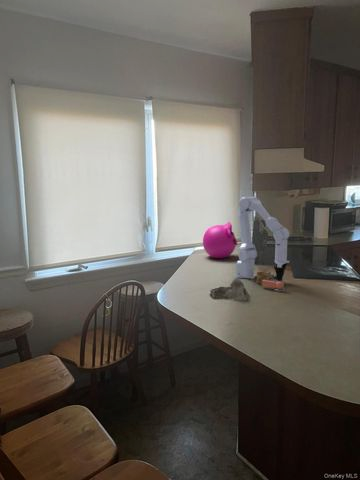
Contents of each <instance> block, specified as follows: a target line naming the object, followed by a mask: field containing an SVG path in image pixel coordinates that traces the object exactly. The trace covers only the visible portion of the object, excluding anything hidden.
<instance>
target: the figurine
mask: <svg viewBox="0 0 360 480" xmlns="http://www.w3.org/2000/svg"><path fill="white" fill-rule="evenodd" d="M202 245H203V249H204V251H205V253H206V254H207V255H208V256H209V257H212V258H215V259H224V258H227V257H230V255H232V254H233V252H234V251H235V250H236V246H238V240H237V238H236V236H235V233H234V232H233V226H232V222H230V221H227V223H225V224H216V225H213V226H210V227H209V228H207V229H206V231H205V232H204V233H203V238H202Z"/></svg>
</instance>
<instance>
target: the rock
mask: <svg viewBox="0 0 360 480" xmlns="http://www.w3.org/2000/svg"><path fill="white" fill-rule="evenodd" d="M209 297H211V298H212V299H214V300H219V299H220V300H231V299H234V300H233V301H246V300H247V299H248V298H250V294H249V292H248V291H247V289H246V288H245V285H244V283H243V281H242V280H241V279H240V278H239V277H236V278H233V280H232V281H231V283H230V286H219V287H214V288H211V289H210V293H209Z"/></svg>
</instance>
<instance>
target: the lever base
mask: <svg viewBox="0 0 360 480" xmlns="http://www.w3.org/2000/svg"><path fill="white" fill-rule="evenodd" d="M273 290H274V292H276V293H284V292H286V288H284V289H282V290H279V289H276V288H273Z"/></svg>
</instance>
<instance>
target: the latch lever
mask: <svg viewBox="0 0 360 480" xmlns="http://www.w3.org/2000/svg"><path fill="white" fill-rule="evenodd" d="M284 284H285V283H284V281H283V282H280V281H278V282H277V281H276V280H270V281H268V280H262V284H261V287H263V288H264V287H265V288H273V289H274V288H276V289H279V290H282V289H285V287H284V286H285V285H284Z"/></svg>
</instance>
